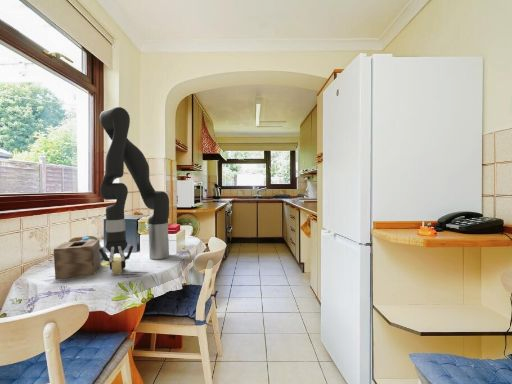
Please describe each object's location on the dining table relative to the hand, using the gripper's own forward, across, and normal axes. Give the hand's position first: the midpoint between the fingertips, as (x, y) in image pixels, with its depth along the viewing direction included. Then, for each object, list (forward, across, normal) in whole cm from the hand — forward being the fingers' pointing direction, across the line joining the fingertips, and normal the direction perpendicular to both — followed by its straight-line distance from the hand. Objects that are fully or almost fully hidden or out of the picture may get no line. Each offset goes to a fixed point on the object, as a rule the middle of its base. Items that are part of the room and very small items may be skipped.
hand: (117, 269), depth 124 cm
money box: (+1, +16, -7) cm, 17 cm away
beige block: (+1, 0, 0) cm, 1 cm away
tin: (+1, +23, -47) cm, 52 cm away
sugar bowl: (+1, +17, -25) cm, 30 cm away
